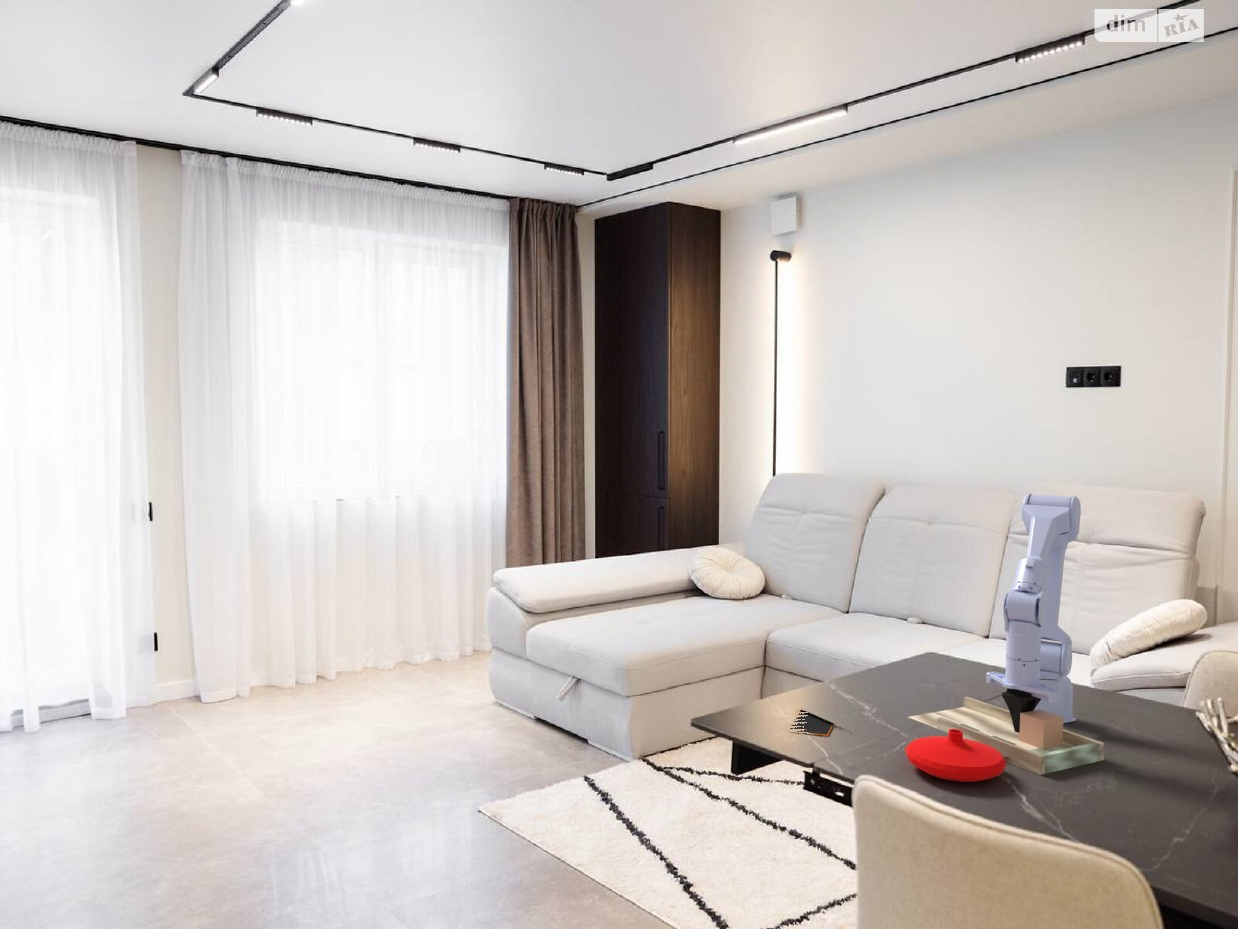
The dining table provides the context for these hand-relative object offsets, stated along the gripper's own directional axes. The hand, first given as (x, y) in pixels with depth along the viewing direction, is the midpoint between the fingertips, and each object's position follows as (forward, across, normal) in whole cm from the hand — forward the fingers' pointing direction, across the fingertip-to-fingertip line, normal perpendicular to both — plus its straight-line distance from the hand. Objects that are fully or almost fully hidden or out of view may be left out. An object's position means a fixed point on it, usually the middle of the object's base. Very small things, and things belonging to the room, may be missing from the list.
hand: (1020, 731), depth 171 cm
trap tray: (+2, -2, -3) cm, 4 cm away
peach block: (+1, +4, 0) cm, 4 cm away
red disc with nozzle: (+2, +6, -23) cm, 24 cm away
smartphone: (+2, -25, -27) cm, 37 cm away
